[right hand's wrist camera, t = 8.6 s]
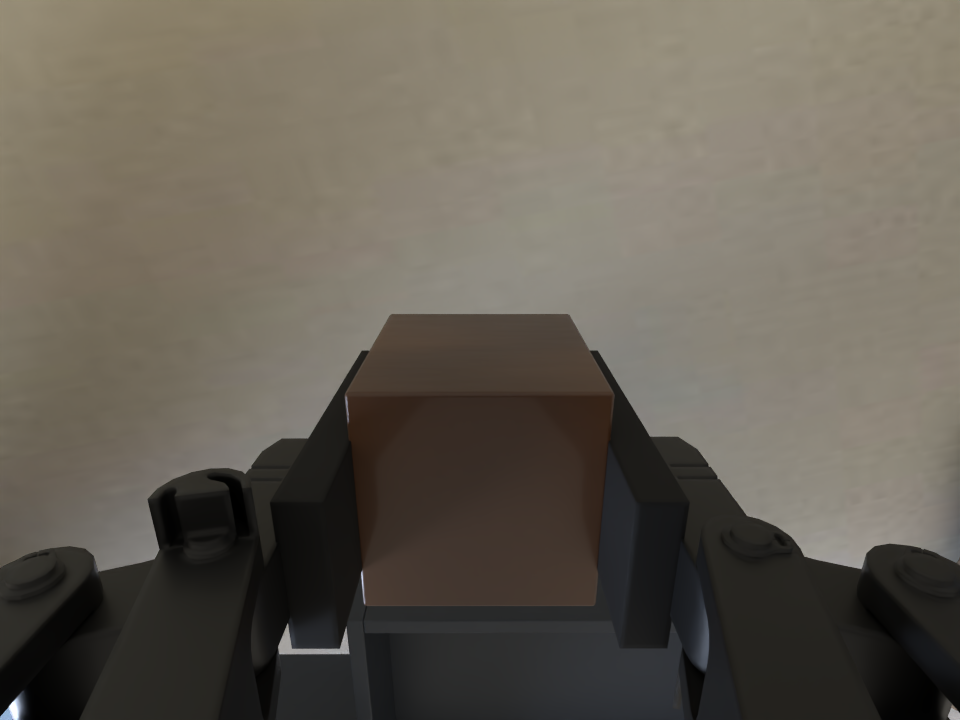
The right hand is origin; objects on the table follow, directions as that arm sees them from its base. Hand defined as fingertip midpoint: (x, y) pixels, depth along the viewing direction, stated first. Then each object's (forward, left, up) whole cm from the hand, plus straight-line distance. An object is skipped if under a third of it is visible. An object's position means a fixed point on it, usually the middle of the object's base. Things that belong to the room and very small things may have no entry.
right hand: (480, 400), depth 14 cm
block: (0, 0, 0) cm, 0 cm away
